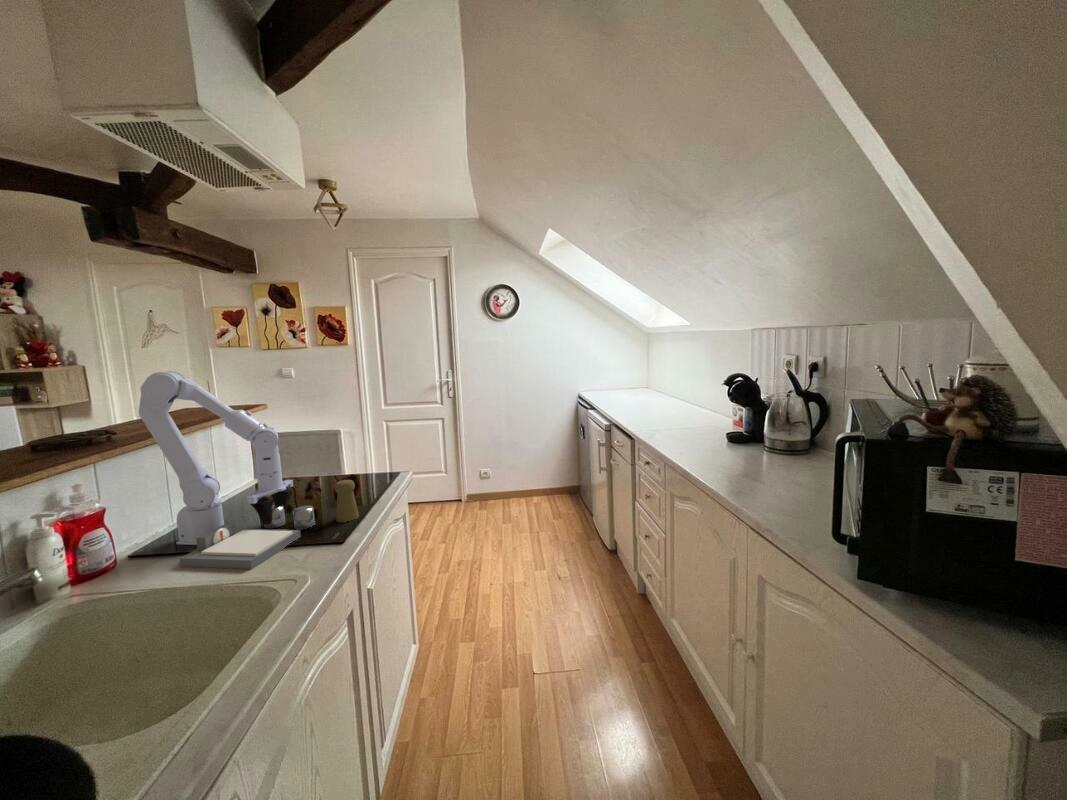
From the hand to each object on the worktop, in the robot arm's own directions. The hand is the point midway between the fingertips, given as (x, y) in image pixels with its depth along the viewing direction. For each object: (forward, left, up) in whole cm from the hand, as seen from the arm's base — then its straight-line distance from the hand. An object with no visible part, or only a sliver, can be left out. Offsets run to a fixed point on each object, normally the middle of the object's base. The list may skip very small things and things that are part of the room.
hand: (274, 519), depth 118 cm
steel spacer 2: (+9, 0, -2) cm, 9 cm away
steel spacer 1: (0, 0, -1) cm, 1 cm away
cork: (+18, +6, -2) cm, 19 cm away
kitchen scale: (+4, -15, -2) cm, 16 cm away
